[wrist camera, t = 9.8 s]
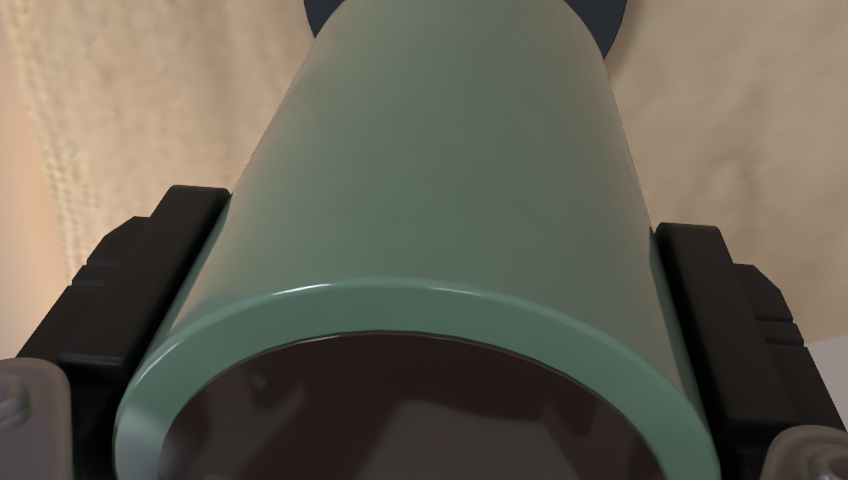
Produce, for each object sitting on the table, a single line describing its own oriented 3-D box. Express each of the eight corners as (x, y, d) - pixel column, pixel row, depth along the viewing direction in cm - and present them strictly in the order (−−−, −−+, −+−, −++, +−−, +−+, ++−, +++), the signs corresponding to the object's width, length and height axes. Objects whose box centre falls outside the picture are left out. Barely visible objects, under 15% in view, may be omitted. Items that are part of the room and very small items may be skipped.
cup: (252, 150, 16) (33, 548, 8) (402, -115, 13) (264, 149, 5) (490, 284, 17) (485, 719, 10) (678, 77, 14) (873, 490, 7)
